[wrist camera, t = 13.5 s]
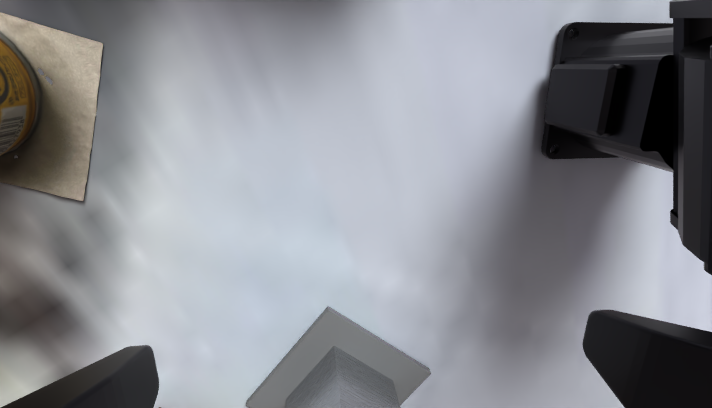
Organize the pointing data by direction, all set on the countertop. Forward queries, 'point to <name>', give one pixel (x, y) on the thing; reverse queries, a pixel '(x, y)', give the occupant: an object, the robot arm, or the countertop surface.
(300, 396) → the brushed metal block
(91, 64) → the condiment
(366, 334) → the pad
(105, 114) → the countertop surface
